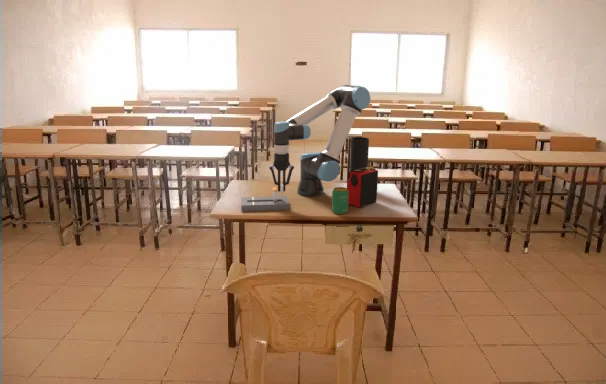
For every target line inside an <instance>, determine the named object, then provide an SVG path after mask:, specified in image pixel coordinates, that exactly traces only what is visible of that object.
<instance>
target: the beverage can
mask: <svg viewBox="0 0 606 384" xmlns="http://www.w3.org/2000/svg"><path fill="white" fill-rule="evenodd" d="M331 192H332V193H331V194H332V196H331V211H332V213H333V214H335V213H336V214H335V215H345V214H347V213H348V211H349V202H348V194H349V192H348V190H347V187H342V186H337V187H334V188H333V190H332V191H331Z"/></svg>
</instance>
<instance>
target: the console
mask: <svg viewBox="0 0 606 384" xmlns="http://www.w3.org/2000/svg"><path fill="white" fill-rule="evenodd" d="M240 205H241V209H240V210H241V212H255V211H256V212H260V211H263V212H264V211H289V210H290V202H289V199H288V196H286V195H283V198H280V195H279V196H278V195H277V201H273V196H247V197H245V196H244V197H243V196H242V197H241V204H240Z"/></svg>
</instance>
